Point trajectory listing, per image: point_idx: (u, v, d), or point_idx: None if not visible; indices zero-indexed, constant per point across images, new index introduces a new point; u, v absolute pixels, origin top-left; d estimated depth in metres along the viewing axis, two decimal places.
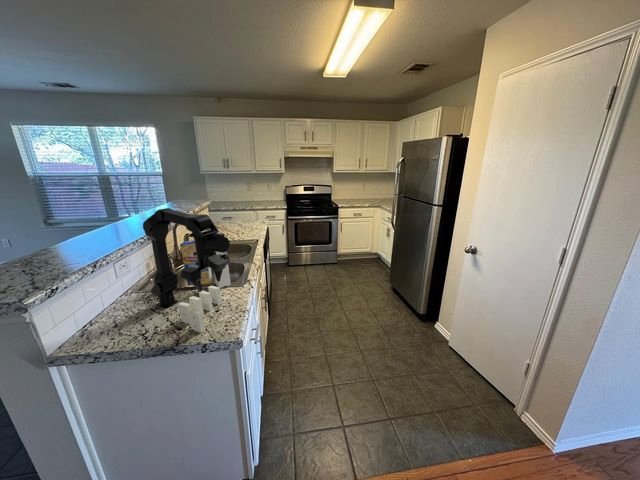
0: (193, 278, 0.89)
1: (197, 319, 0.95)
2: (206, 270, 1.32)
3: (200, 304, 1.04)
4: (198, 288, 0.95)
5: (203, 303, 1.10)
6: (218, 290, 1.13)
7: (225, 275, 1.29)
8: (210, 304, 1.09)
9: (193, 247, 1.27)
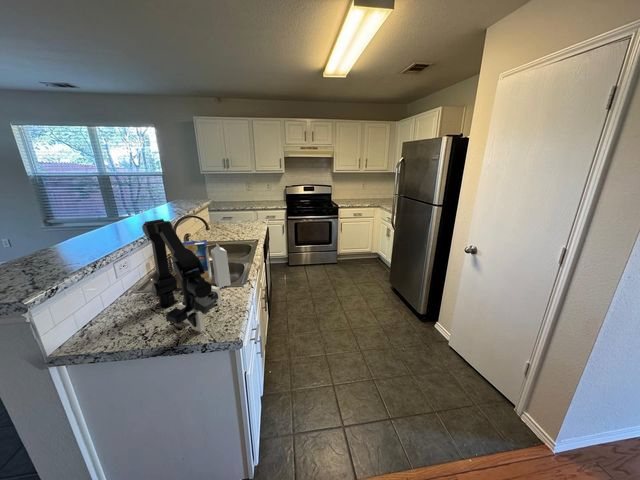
0: (178, 322, 0.86)
1: (197, 318, 0.95)
2: (206, 270, 1.32)
3: None
4: (193, 324, 0.95)
5: None
6: (218, 290, 1.13)
7: (225, 275, 1.29)
8: None
9: (193, 247, 1.27)
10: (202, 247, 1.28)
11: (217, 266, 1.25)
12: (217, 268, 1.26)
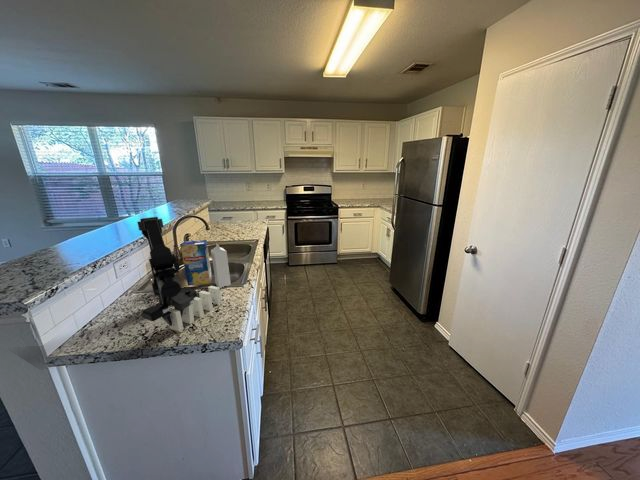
0: (154, 319, 0.86)
1: (175, 318, 0.95)
2: (206, 270, 1.32)
3: (200, 304, 1.04)
4: (168, 322, 0.95)
5: (203, 303, 1.10)
6: (218, 290, 1.13)
7: (225, 275, 1.29)
8: (210, 304, 1.09)
9: (193, 247, 1.27)
10: (202, 247, 1.28)
11: (217, 266, 1.25)
12: (217, 268, 1.26)
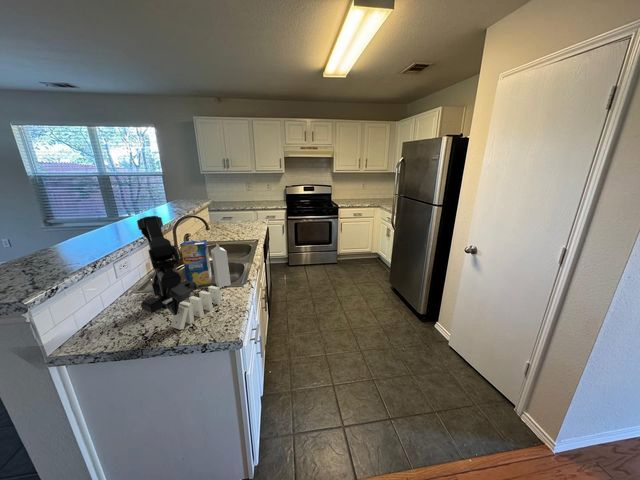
0: (153, 310, 0.86)
1: (181, 314, 0.97)
2: (206, 270, 1.32)
3: (200, 304, 1.04)
4: (172, 312, 0.96)
5: (203, 303, 1.10)
6: (218, 290, 1.13)
7: (225, 275, 1.29)
8: (210, 304, 1.09)
9: (193, 247, 1.27)
10: (202, 247, 1.28)
11: (217, 266, 1.25)
12: (217, 268, 1.26)
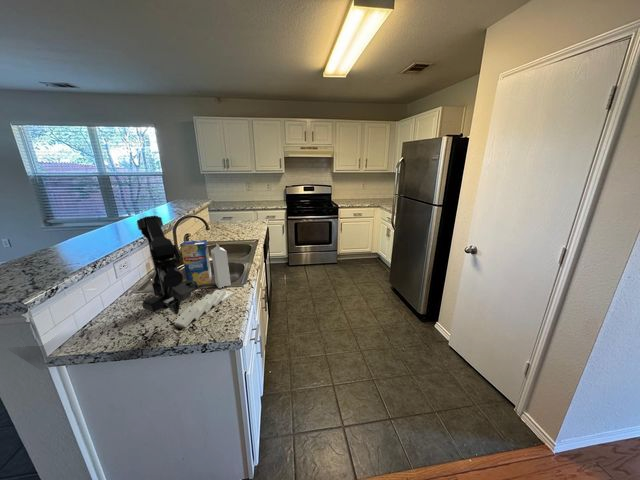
0: (155, 309, 0.86)
1: (192, 312, 1.02)
2: (206, 270, 1.32)
3: (213, 301, 1.12)
4: (173, 311, 0.96)
5: None
6: None
7: (225, 275, 1.29)
8: (219, 300, 1.14)
9: (193, 247, 1.27)
10: (202, 247, 1.28)
11: (217, 266, 1.25)
12: (217, 268, 1.26)
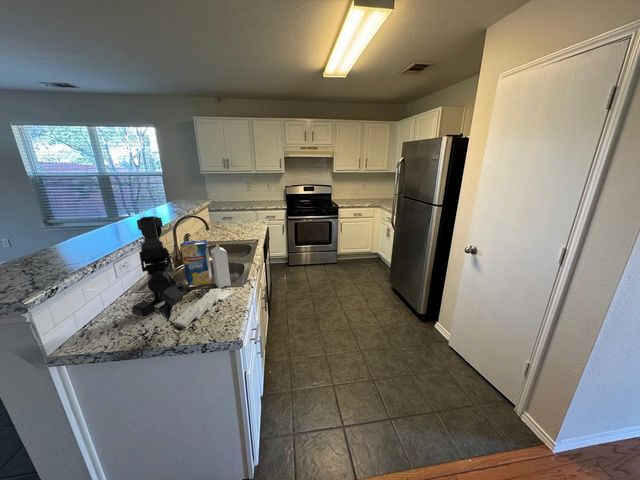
0: (145, 314, 0.83)
1: (193, 312, 1.03)
2: (206, 270, 1.32)
3: (214, 299, 1.14)
4: (165, 316, 0.93)
5: None
6: None
7: (225, 275, 1.29)
8: (218, 296, 1.17)
9: (193, 247, 1.27)
10: (202, 247, 1.28)
11: (217, 266, 1.25)
12: (217, 268, 1.26)
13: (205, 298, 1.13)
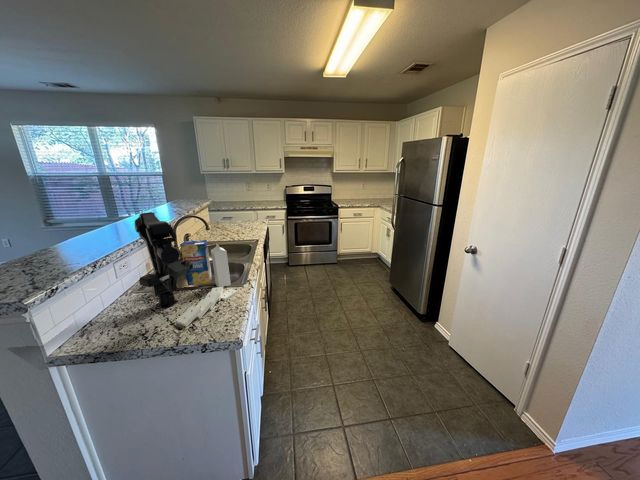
0: (151, 285, 0.90)
1: (194, 312, 1.03)
2: (206, 270, 1.32)
3: (217, 298, 1.14)
4: (169, 289, 1.00)
5: None
6: None
7: (225, 275, 1.29)
8: (220, 295, 1.18)
9: (193, 247, 1.27)
10: (202, 247, 1.28)
11: (217, 266, 1.25)
12: (217, 268, 1.26)
13: (208, 297, 1.14)
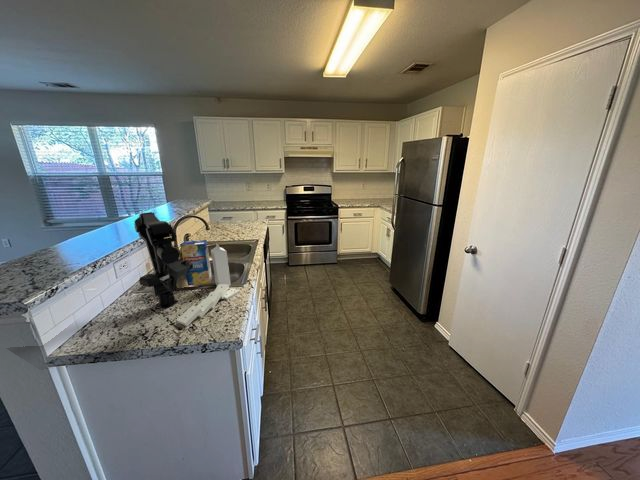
0: (151, 285, 0.90)
1: (195, 311, 1.03)
2: (206, 270, 1.32)
3: (218, 297, 1.15)
4: (169, 289, 1.00)
5: (217, 291, 1.20)
6: (238, 293, 1.24)
7: (225, 275, 1.29)
8: (224, 292, 1.19)
9: (193, 247, 1.27)
10: (202, 247, 1.28)
11: (217, 266, 1.25)
12: (217, 268, 1.26)
13: (210, 296, 1.15)
